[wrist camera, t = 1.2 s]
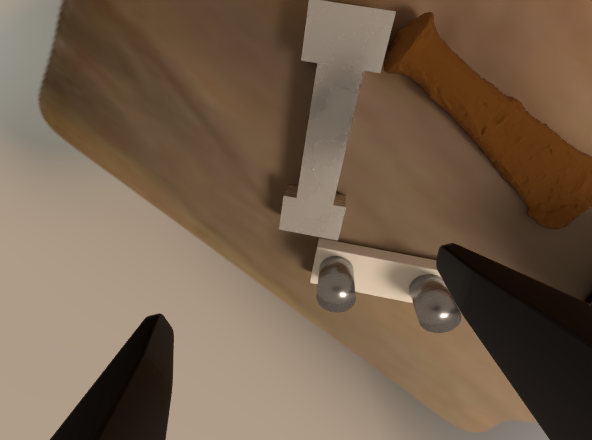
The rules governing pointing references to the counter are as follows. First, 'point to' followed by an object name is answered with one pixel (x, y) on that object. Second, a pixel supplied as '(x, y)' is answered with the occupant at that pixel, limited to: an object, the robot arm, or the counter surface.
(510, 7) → the counter surface
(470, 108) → the primitive tool
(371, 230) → the counter surface
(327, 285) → the peg rack
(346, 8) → the spanner
